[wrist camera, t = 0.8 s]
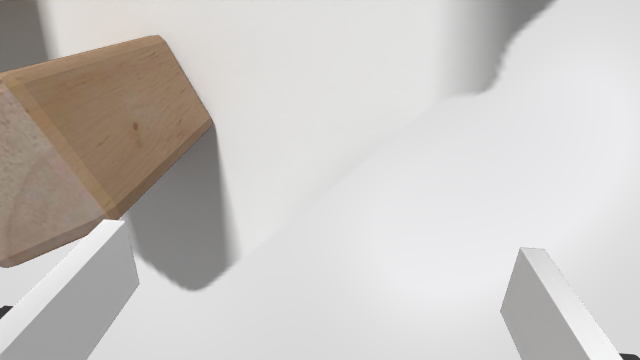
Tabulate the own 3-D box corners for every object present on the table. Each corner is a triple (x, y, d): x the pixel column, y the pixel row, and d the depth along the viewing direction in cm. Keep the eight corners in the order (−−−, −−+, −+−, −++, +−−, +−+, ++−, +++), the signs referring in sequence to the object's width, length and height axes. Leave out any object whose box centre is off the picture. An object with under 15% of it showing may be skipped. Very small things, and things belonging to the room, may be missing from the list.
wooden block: (218, 122, 41) (117, 227, 24) (142, 158, 44) (-3, 278, 26) (163, 29, 38) (-7, 69, 20) (83, 74, 40) (-133, 146, 22)
